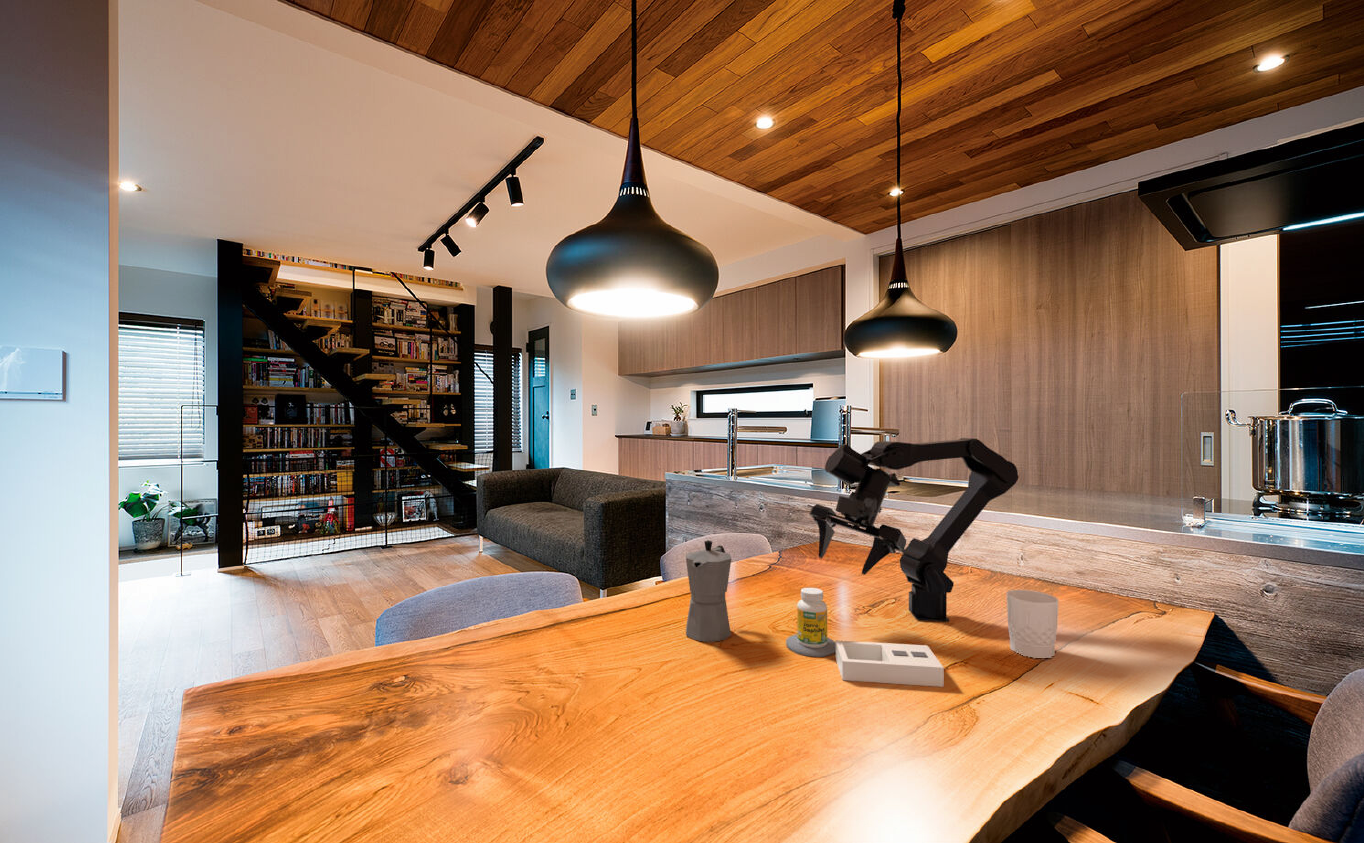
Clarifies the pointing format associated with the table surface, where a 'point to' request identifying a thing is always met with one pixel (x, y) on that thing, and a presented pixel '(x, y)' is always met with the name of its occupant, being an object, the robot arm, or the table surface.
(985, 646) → the table surface
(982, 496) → the robot arm
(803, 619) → the supplement bottle
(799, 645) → the mat
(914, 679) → the desk organizer
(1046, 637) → the white cup
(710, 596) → the coffeepot
